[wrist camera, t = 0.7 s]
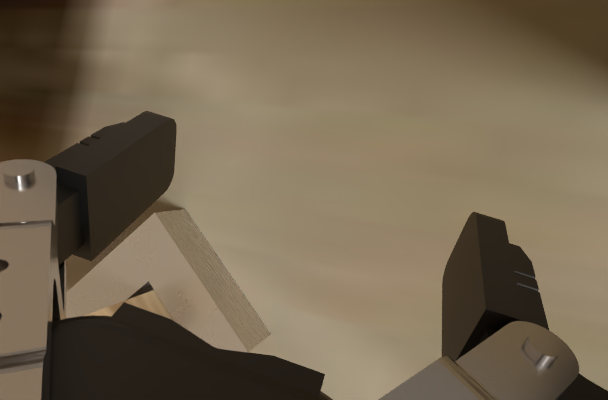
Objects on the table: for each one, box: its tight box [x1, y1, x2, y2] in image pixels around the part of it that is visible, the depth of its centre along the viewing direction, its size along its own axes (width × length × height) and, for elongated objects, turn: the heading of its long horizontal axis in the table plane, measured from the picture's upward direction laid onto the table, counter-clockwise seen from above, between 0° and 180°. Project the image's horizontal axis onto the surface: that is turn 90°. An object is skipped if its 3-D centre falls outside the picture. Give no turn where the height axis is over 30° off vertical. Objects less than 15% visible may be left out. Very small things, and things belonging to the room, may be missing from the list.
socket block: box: [66, 209, 270, 353], centre depth 37 cm, size 12×12×4 cm
